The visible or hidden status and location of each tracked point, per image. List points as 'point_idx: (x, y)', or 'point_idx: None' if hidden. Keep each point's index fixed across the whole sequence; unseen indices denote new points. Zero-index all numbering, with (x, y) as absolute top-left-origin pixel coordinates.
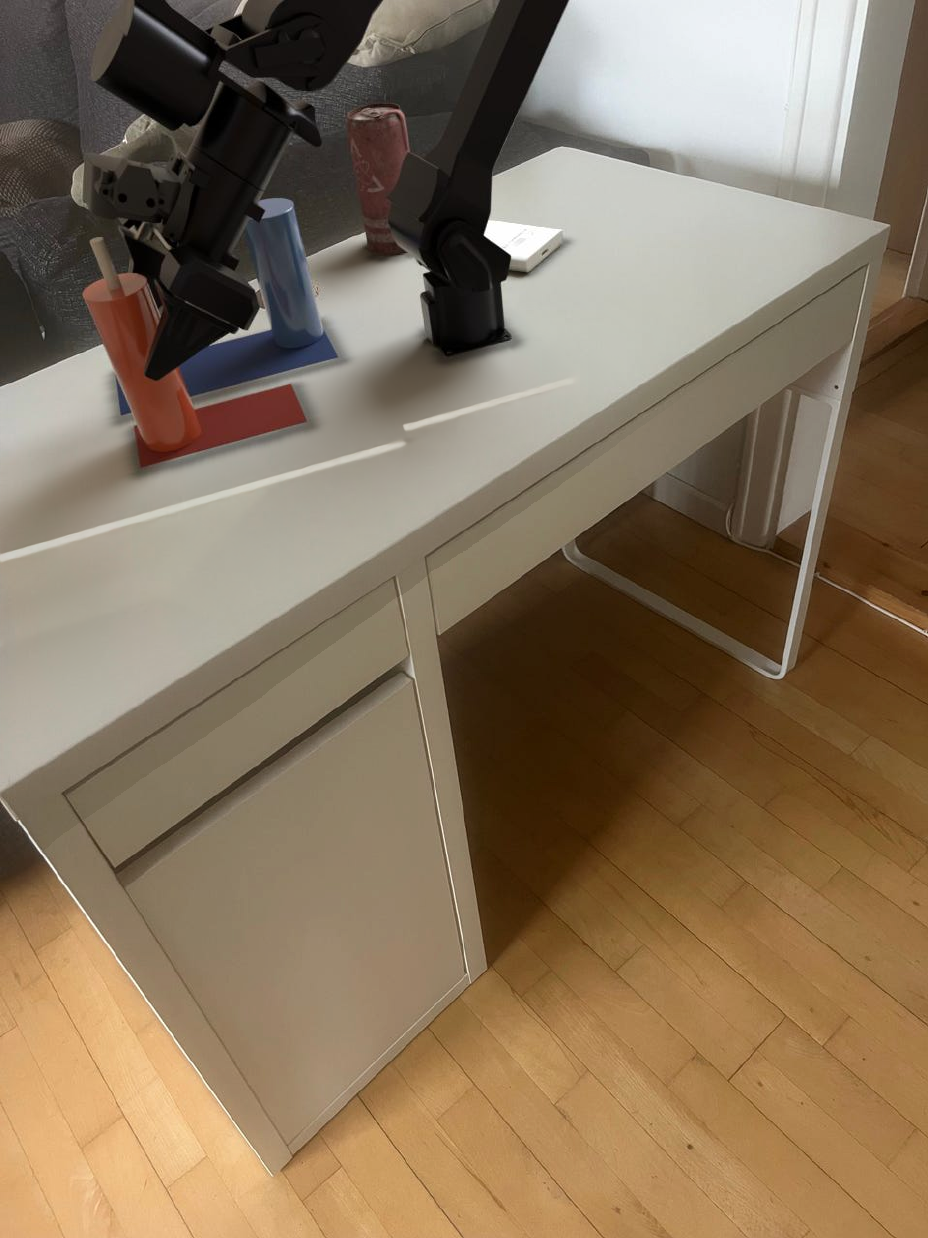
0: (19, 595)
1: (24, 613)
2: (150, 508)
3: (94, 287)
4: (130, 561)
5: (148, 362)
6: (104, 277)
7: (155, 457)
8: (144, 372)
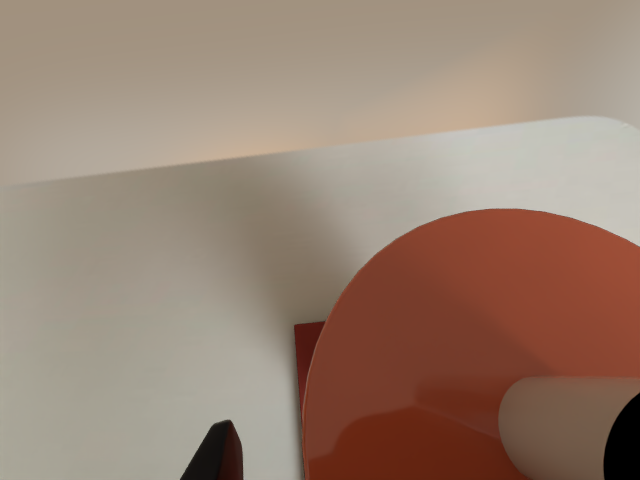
0: (92, 183)
1: (54, 192)
2: (187, 341)
3: (578, 273)
4: (73, 315)
5: (192, 464)
6: (567, 391)
7: (313, 351)
8: (216, 426)
